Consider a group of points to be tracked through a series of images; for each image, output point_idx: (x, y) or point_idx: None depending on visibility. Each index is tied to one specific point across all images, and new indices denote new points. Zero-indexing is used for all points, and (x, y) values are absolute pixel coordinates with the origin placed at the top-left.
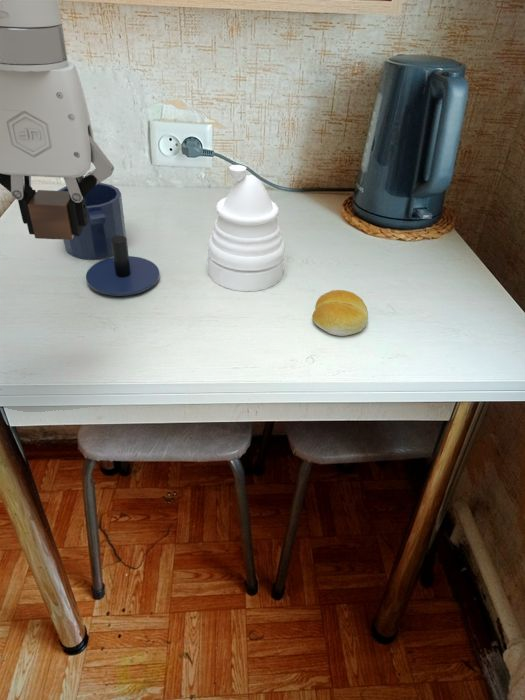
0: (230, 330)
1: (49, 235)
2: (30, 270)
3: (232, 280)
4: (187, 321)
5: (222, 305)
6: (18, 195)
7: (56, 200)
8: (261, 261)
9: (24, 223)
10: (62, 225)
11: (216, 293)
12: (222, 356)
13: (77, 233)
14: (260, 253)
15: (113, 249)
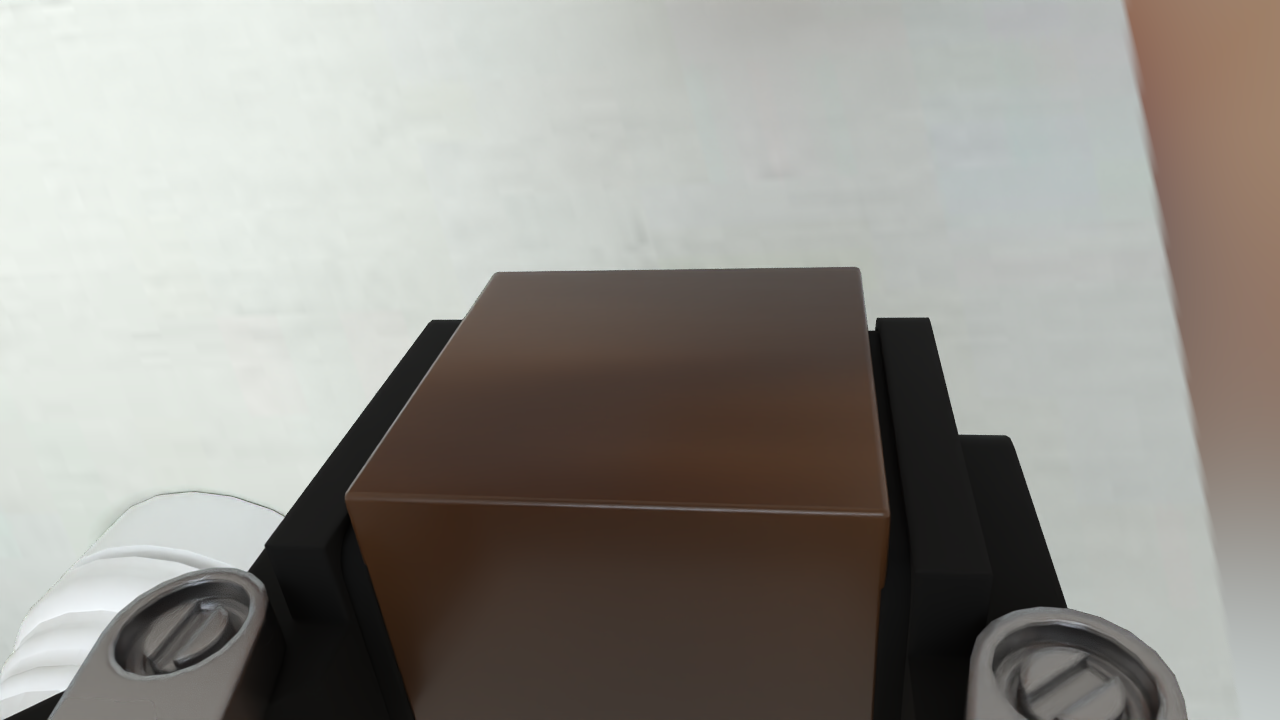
0: (167, 251)
1: (700, 284)
2: (1107, 618)
3: (227, 530)
4: (353, 302)
5: (253, 407)
6: (1054, 668)
7: (535, 630)
8: (63, 592)
9: (997, 435)
10: (520, 348)
11: (300, 479)
12: (135, 75)
13: (433, 329)
14: (52, 626)
15: None
